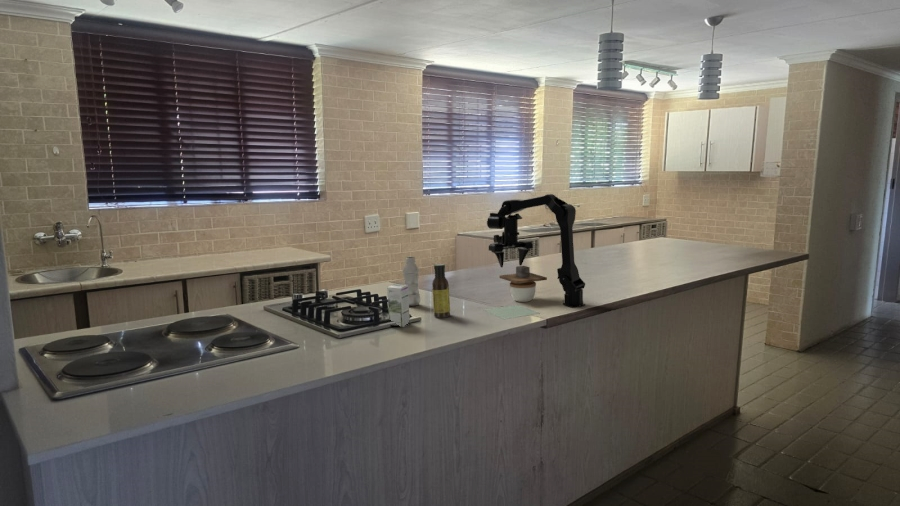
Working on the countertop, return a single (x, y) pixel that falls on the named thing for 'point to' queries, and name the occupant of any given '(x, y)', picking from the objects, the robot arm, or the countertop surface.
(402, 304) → the syrup box
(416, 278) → the plastic bottle
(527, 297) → the lidded jar
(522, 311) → the mat
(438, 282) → the sauce bottle
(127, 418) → the countertop surface
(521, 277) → the lid
